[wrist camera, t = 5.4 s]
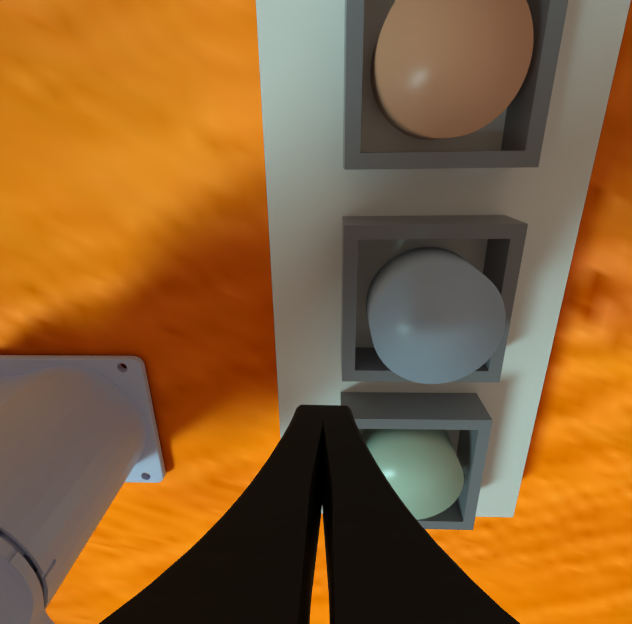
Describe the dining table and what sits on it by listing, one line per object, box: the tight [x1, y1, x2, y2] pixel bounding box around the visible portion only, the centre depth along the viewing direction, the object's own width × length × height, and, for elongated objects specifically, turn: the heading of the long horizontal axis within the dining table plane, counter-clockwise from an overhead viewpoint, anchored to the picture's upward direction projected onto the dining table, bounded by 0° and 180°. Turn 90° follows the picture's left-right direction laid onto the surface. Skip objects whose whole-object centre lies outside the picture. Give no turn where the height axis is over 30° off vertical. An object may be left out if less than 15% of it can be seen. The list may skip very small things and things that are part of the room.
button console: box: [256, 0, 631, 530], centre depth 17 cm, size 12×25×4 cm, turn 1°
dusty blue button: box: [366, 247, 506, 384], centre depth 14 cm, size 4×4×2 cm
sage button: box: [362, 429, 464, 520], centre depth 19 cm, size 4×4×2 cm
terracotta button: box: [371, 0, 534, 139], centre depth 13 cm, size 4×4×2 cm
